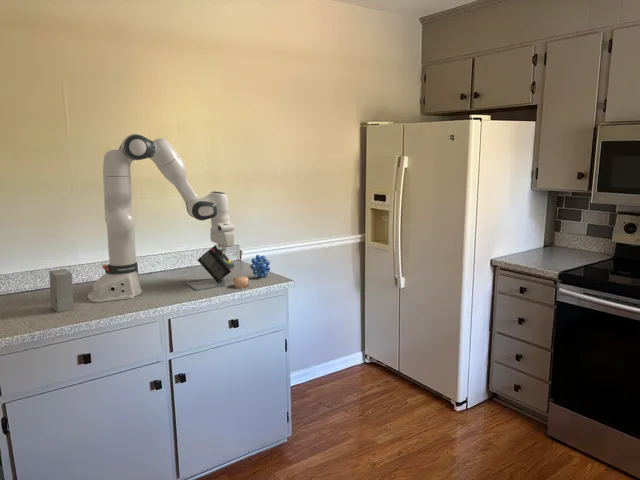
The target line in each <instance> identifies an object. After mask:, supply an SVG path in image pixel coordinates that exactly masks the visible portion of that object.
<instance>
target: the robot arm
mask: <svg viewBox="0 0 640 480" xmlns="http://www.w3.org/2000/svg"><path fill="white" fill-rule="evenodd" d="M145 159H150V160H151V161H152V162H153V164H155V166H156V168H157V169H158V170H159V171H160V174H162V176H163V177H164V178H165V179H166V180H168V181H169V183H170V184H172V185H173V186H174V187H175V189H176V190H177V191H178V193H179V195H180V196H181V197H182V199H183V201H184V203H185V207H186V208H185V209H186V212H187V213H188V215H189V216H190V217H192V218H194V219H195V220H198V221H206V220H210V224H211V227H210V233H209V234H210V235H209V236H210V240H211V241H210V242H212V243H215V244H217V246H218V248H219V252H220V253H222V254H225V255H226V254H227V248H231V247H234V246H235V233H234V231H235V225H234V224H233V223H232V221H231V217H230V215H229V213H230V204H229V203H230V202H229V197H228V195H227V194H226V193H225V192H224V191H223V192H221V191H215V190H213V191H211V192H210V193H208V195H205V196H204V197H202V198H201V196H199V195H198V194H196V192H195V190H194V189H193V187H192V185H191V184H190V182H189V181H188V178H187V167H186V165H185V162H184V160H183V158H182V156H180V155H179V153H178V151H177V150H176V149H175V147H174V146H173V145H172V144H171V143H170V142H169V141H168V140H167V139H166V138H162V137H160V138H159V137H158V138H155V139H154V140H151V139H149V138H147V137H145V136H143V135H141V134H137V133H133V134H129V135H126V137H125V138H124V139H123V140H122V142H121V144H120V146H119V147H118V149H110V150H108V151H106V152H105V154H104V156H103V162H102V163H103V164H102V181H103V195H104V199H103V200H104V221H105V224H106V231H107V232H106V233H107V248H108V250H107V251H108V259H109V260H108V261H109V264H104V263H103V264H102V269H103V270H104V271H105V272H104V274H103V275H101V277H99V278H98V279H97V280H96V281H94V283H93V285H92V286H93V287H92V292H89V293H88V294H87V299H88V301H89V302H92V303H104V302H112V301H113V302H114V301H120V300H121V301H122V300H130V299H134V298H135V297H136V296H139V295H141V294H142V293H143V289H142V288H141V284H140V281H139V275H138V274H139V265H138V262H137V256H136V240H135V239H136V231H135V230H136V229H135V226H136V225H135V218H134V216H133V214H132V195H133V193H132V175H131V165H132V163H133V162H134V161H141V160H145Z"/></svg>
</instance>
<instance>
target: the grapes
mask: <svg viewBox="0 0 640 480" xmlns="http://www.w3.org/2000/svg"><path fill="white" fill-rule="evenodd" d="M270 264H271V262H270V260H269V259H267V257H266V256H265V255H260V254H256V256H255V257H253V258H251V264H250V266H249V267H250V269H251V270H252V274H253V275H254V276H257V277H258V278H263V277H267V276H268V274H269V272H270V270H271V267H270Z"/></svg>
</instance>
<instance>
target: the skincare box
mask: <svg viewBox="0 0 640 480" xmlns="http://www.w3.org/2000/svg"><path fill="white" fill-rule="evenodd" d="M73 286H74V285H73V273H72V271H70V270H69V269H66V268H62V269H61V268H60V269H53V270H49V287H50V288H49V290H50V291H49V292H50V308H51V309H52V310H53V311H54V312H57V313H61V312H62V313H63V312H66V311H72V310H74V309H75V308H74V292H73V291H74V290H73V289H74V288H73Z"/></svg>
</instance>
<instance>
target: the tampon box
mask: <svg viewBox="0 0 640 480" xmlns="http://www.w3.org/2000/svg"><path fill="white" fill-rule="evenodd" d="M197 262H198V263H199V264H200V265H201V266H202V267H203V268H204V269H205V270H206V272H207V273H208V274H209V275H210V277H212V279H215V280H216V282H217V283H218V282H219V281H220V282H221V280H223V279H224V278H225V277H227V276H228V275H229V274H231V273H232V271H233V270H234V269H235V267H236V265H235V264H234V263H233V262H232V261H231V260H230V258H229V257H228V256H227V255H226V254H222V253H220V252H219V248H218V244H217V243H215V245H213V246H212V247H211V248H210V249H208V250H207V251H206V252H204V254H202V255H201V256H200V257H199V258H198V259H197Z"/></svg>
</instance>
